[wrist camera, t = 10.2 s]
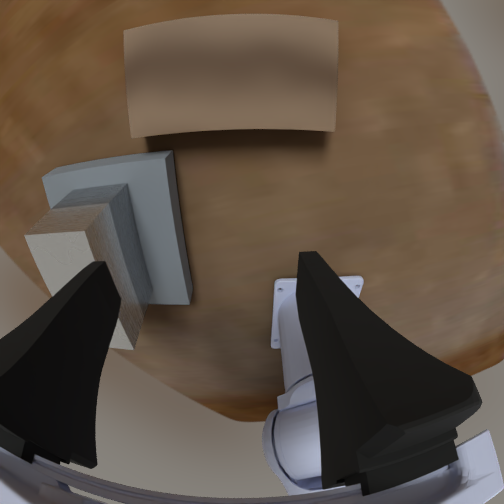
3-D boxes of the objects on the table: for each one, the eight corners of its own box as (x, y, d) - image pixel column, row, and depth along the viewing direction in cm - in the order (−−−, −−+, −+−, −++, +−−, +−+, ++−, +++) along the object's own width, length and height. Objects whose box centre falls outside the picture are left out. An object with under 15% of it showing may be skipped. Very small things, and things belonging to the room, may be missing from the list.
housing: (127, 182, 16) (84, 231, 11) (153, 289, 22) (134, 349, 17) (73, 189, 16) (24, 235, 11) (105, 288, 21) (80, 343, 17)
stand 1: (193, 288, 24) (189, 304, 22) (94, 286, 24) (87, 300, 22) (172, 150, 17) (164, 158, 16) (55, 167, 17) (41, 177, 16)
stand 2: (325, 126, 17) (334, 131, 15) (142, 132, 16) (131, 138, 15) (328, 26, 13) (338, 20, 11) (135, 34, 12) (123, 30, 11)
